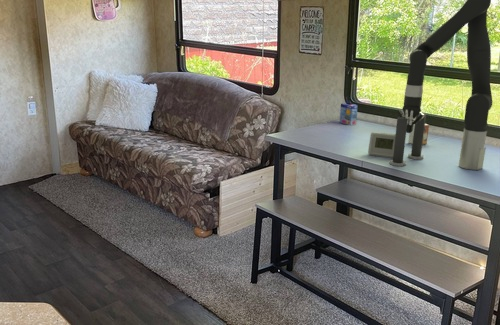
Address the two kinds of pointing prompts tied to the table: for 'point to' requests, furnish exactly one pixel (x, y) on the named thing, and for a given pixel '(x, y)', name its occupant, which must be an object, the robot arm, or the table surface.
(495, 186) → the table surface
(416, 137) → the post right
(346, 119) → the ink cartridge box
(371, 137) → the digital clock
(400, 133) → the post left
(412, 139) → the small box
